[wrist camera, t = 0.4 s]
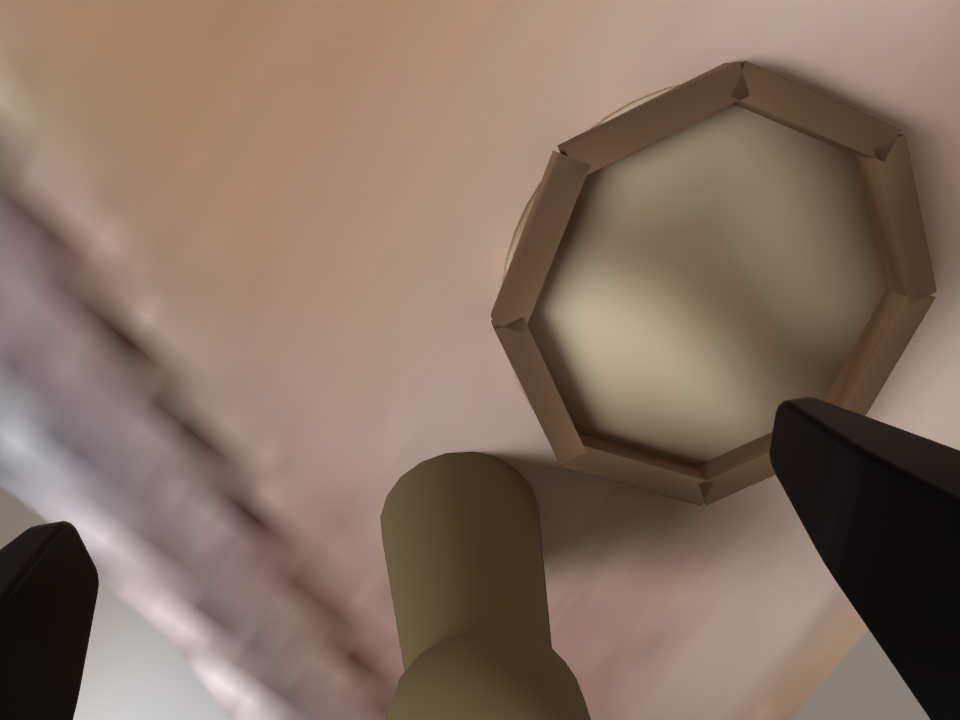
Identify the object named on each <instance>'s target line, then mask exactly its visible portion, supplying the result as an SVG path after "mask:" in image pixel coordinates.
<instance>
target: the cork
mask: <svg viewBox="0 0 960 720" xmlns="http://www.w3.org/2000/svg"><path fill="white" fill-rule="evenodd" d="M381 529H382V540H383V546H384V552H385V558H386V564H387V570H388V575H389V581H390V587H391V593H392V599H393V605H394V611H395V617H396V623H397V629H398V635H399V641H400V647H401V652H402V658H403V664H404V670H405V672H404V674H403V675H402V676H401V677H400V679H399V682H398V685H397V688H396V691H395V694H394V697H393V700H392V703H391V706H390V709H389V712H388V715H387V718H386V720H591V719H590V716H589V712H588V709H587V706H586V703H585V700H584V697H583V695H582V692H581V690H580V687H579V684H578V682H577V679H576V677H575V676H574V674H573V673H572V671H571V670H570V668H569V667H568V665H567V664H566V662H565V661H564V660H563V659H562V658H561V657H560V656H559V655H558V654H557V653H556V652H555V651H554V650H553V649H552V645H551V634H550V624H549V614H548V603H547V593H546V583H545V573H544V562H543V552H542V542H541V531H540V521H539V511H538V505H537V502H536V499H535V496H534V494H533V491H532V488H531V486H530V485H529V484H528V482H527V481H526V480H525V479H524V478H523V477H522V475H521V474H520V473H519V472H518V471H517V470H516V469H515V468H513V467H511V466H510V465H508V464H506V463H504V462H503V461H501V460H499V459H497V458H496V457H491V456H487V455H482V454H478V453H473V452H465V453H448V454H443V455H440V456H438V457H435V458H432V459H429V460H426V461H423V462H421V463H420V464H418V465H417V466H415V467H414V468H413V469H411V470H410V471H408V472H407V473H406V474H404V475H403V476H402V477H401V478H400V479H399V480H398V482H397V483H396V484H395V486H394V487H393V488H392V490H391V491H390V493H389V494H388V495H387V498H386V501H385V504H384V508H383V511H382V514H381Z"/></svg>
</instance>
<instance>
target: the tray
mask: <svg viewBox="0 0 960 720" xmlns="http://www.w3.org/2000/svg"><path fill="white" fill-rule="evenodd" d="M900 131H901V130H900V129H898V128H896V127H894V126H891V125H889V124H887V123H885V122H882V121H880V120H878V119H876V118H873V117H871V116H869V115H867V114H864V113H862V112H860V111H858V110H855V109H853V108H851V107H849V106H846V105H844V104H842V103H840V102H838V101H835V100H833V99H831V98H829V97H826V96H824V95H822V94H820V93H817V92H815V91H813V90H811V89H808V88H806V87H804V86H802V85H799V84H797V83H795V82H793V81H790V80H788V79H786V78H784V77H781V76H779V75H777V74H775V73H772V72H770V71H768V70H766V69H763V68H761V67H759V66H757V65H754V64H752V63H750V62H748V61H744V62H731V63H724V64H722V65H720V66H718V67H716V68H714V69H712V70H710V71H708V72H706V73H704V74H702V75H700V76H698V77H696V78H694V79H692V80H690V81H688V82H686V83H684V84H682V85H678V86H674V87H670V88H666V89H663V90H660V91H657V92H655V93H652V94H650V95H647V96H645V97H643V98H640V99H638V100H635V101H633V102H631V103H630V104H628V105H626V106H624V107H623V108H621V109H619V110H617V111H616V112H614V113H612V114H610V115H609V116H607V117H606V118H604V119H603V120H602V121H600V122H599V123H598V124H596V125H595V126H594V127H593V128H591V129H590V130H588V131H586V132H584V133H582V134H580V135H578V136H576V137H574V138H572V139H570V140H568V141H566V142H564V143H562V144H560V145H558V148H559V150H560V153H558V152H555V151H553V152H552V155H551V157H550V160H549V163H548V165H547V168H546V170H545V173H544V176H543V178H542V181H541V183H540V184H539V186H538V188H537V189H536V191H535V192H534V194H533V196H532V197H531V199H530V201H529V202H528V204H527V206H526V208H525V210H524V212H523V215H522V217H521V219H520V221H519V223H518V226H517V228H516V230H515V233H514V236H513V239H512V243H511V246H510V249H509V252H508V256H507V260H506V266H505V271H504V277H503V283H502V286H501V289H500V292H499V294H498V297H497V300H496V302H495V305H494V308H493V310H492V313H491V317H492V319H493V320H491V322H492V325H493V327H494V330H495V332H496V334H497V336H498V338H499V340H500V342H501V344H502V346H503V348H504V350H505V352H506V354H507V356H508V359H509V361H510V363H511V365H512V368H513V370H514V373H515V375H516V378H517V380H518V383H519V385H520V388H521V390H522V392H523V393H524V395H525V397H526V399H527V400H528V402H529V404H530V406H531V407H532V409H533V411H534V412H535V414H536V416H537V418H538V420H539V422H540V424H541V426H542V428H543V430H544V432H545V435H546V437H547V439H548V441H549V443H550V445H551V447H552V449H553V451H554V453H555V455H556V457H557V459H558V461H559V463H560V465H561V464H563V466H564V468H566V469H570V470H574V471H577V472H581V473H585V474H588V475H592V476H595V477H599V478H603V479H606V480H610V481H613V482H617V483H621V484H624V485H628V486H632V487H635V488H639V489H642V490H646V491H650V492H653V493H657V494H660V495H664V496H668V497H671V498H675V499H679V500H682V501H686V502H689V503H693V504H697V505H700V506H701V505H702V503H703V502H704V503H705V504H706V505H708V504H710V503H713V502H715V501H717V500H719V499H722V498H724V497H726V496H728V495H730V494H733V493H735V492H737V491H739V490H742V489H744V488H746V487H748V486H751V485H753V484H755V483H757V482H759V481H762V480H764V479H766V478H768V477H771V476H773V475H775V474H776V473H775V471H774V469H773V467H772V464H771V461H770V453H769V452H770V443H771V437H772V431H773V425H774V419H775V413H776V409H777V407H778V405H779V404H780V403H781V402H783V401H785V400H791V399H797V398H803V397H814V398H817V399H820V400H822V401H825V402H828V403H831V404H833V405H836V406H839V407H842V408H844V409H847V410H850V411H853V412H855V413H858V414H861V415H863V416H865V415H866V414H867V412H868V410H869V409H870V407H871V405H872V404H873V402H874V400H875V399H876V397H877V395H878V394H879V392H880V390H881V388H882V387H883V385H884V383H885V382H886V380H887V378H888V377H889V375H890V373H891V372H892V370H893V368H894V366H895V365H896V363H897V361H898V360H899V358H900V356H901V355H902V353H903V351H904V350H905V348H906V346H907V345H908V343H909V341H910V339H911V338H912V336H913V334H914V333H915V331H916V329H917V328H918V326H919V324H920V323H921V321H922V319H923V318H924V316H925V314H926V312H927V311H928V309H929V307H930V306H931V304H932V302H933V301H934V299H935V297H933V296H930V294H933V293H935V292H937V291H936V286H935V281H934V276H933V271H932V266H931V261H930V256H929V252H928V247H927V242H926V237H925V232H924V227H923V222H922V217H921V212H920V207H919V202H918V197H917V192H916V187H915V182H914V177H913V172H912V167H911V162H910V157H909V152H908V148H907V143H906V138H905V135H904V134H899V133H900Z"/></svg>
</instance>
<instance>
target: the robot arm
mask: <svg viewBox="0 0 960 720" xmlns="http://www.w3.org/2000/svg"><path fill="white" fill-rule="evenodd" d="M769 453H770V461H771V464H772V467H773V469H774V471H775V473H776V475H777V477H778V479H779V481H780V483H781V484H782V486H783V488H784V490H785V492H786V494H787V496H788V497H789V499H790V501H791V503H792V505H793V507H794V509H795V510H796V512H797V514H798V516H799V518H800V520H801V522H802V523H803V525H804V527H805V529H806V531H807V533H808V535H809V536H810V538H811V540H812V542H813V544H814V546H815V548H816V549H817V551H818V553H819V555H820V556H821V558H822V560H823V561H824V563H825V565H826V566H827V568H828V569H829V571H830V572H831V574H832V576H833V577H834V579H835V580H836V582H837V583H838V585H839V586H840V588H841V589H842V590H843V592H844V593H845V595H846V596H847V598H848V599H849V601H850V602H851V604H852V605H853V607H854V608H855V610H856V611H857V612H858V614H859V615H860V617H861V618H862V620H863V621H864V623H865V624H866V626H867V627H868V629H869V630H870V631H871V633H872V634H873V636H874V637H875V639H876V640H877V642H878V643H879V645H880V646H881V648H882V649H883V650H884V652H885V653H886V655H887V656H888V658H889V659H890V661H891V662H892V664H893V665H894V666H895V668H896V669H897V671H898V672H899V674H900V675H901V677H902V678H903V680H904V681H905V683H906V684H907V686H908V687H909V689H910V690H911V692H912V693H913V694H914V696H915V697H916V699H917V700H918V702H919V703H920V705H921V706H922V708H923V709H924V711H925V712H926V713H927V715H928V716H929V718H930V719H931V720H960V451H959V450H956V449H954V448H951V447H948V446H945V445H943V444H940V443H937V442H935V441H932V440H929V439H926V438H924V437H921V436H918V435H915V434H913V433H910V432H907V431H904V430H902V429H899V428H896V427H894V426H891V425H888V424H885V423H883V422H880V421H877V420H874V419H872V418H869V417H866V416H863V415H861V414H858V413H855V412H853V411H850V410H847V409H844V408H842V407H839V406H836V405H833V404H831V403H828V402H825V401H822V400H820V399H817V398H814V397H803V398H797V399H791V400H785V401H783V402H781V403H780V404H779V405H778V407H777V409H776V413H775V419H774V425H773V431H772V437H771V443H770V452H769ZM98 586H99V580H98V573H97V570H96V567H95V565H94V563H93V561H92V559H91V557H90V555H89V553H88V551H87V549H86V547H85V545H84V543H83V541H82V539H81V537H80V535H79V533H78V531H77V530H76V528H75V527H74V526H73V525H72V524H71V523H69V522H65V521H61V522H55V523H49V524H44V525H38V526H33V527H31V528H29V529H27V530H26V531H24V532H23V533H22V534H20V535H19V536H18V537H17V538H15V539H14V540H13V541H11V542H10V543H9V544H7V545H6V546H5V547H3V548H2V549H1V550H0V720H73V716H74V713H75V709H76V704H77V700H78V695H79V691H80V685H81V680H82V675H83V669H84V664H85V658H86V653H87V648H88V642H89V637H90V631H91V626H92V620H93V615H94V609H95V604H96V599H97V593H98Z"/></svg>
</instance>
